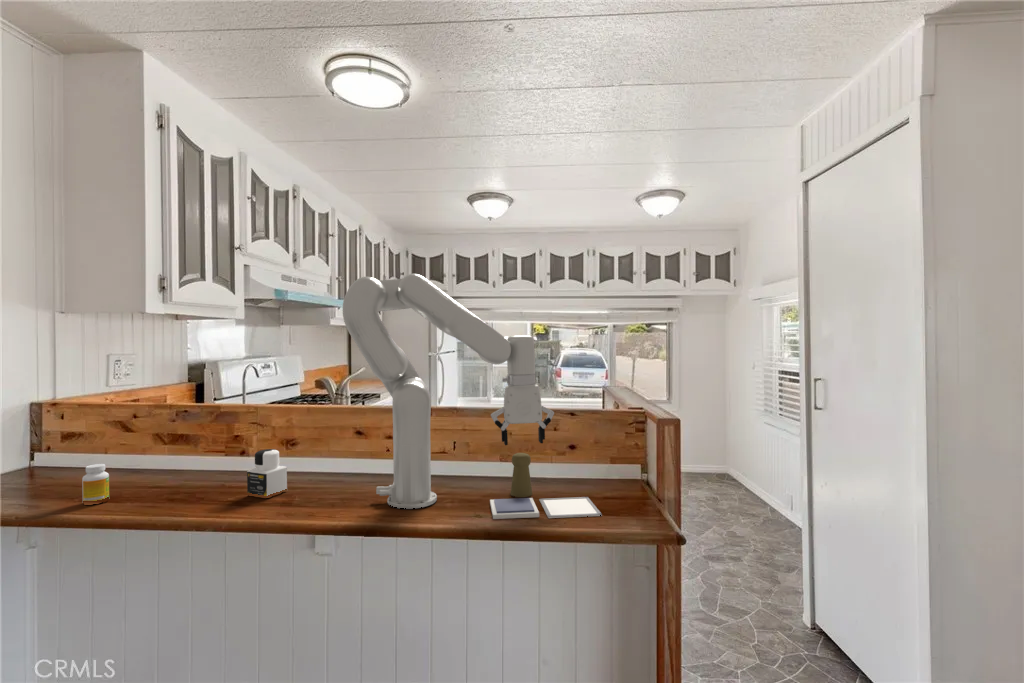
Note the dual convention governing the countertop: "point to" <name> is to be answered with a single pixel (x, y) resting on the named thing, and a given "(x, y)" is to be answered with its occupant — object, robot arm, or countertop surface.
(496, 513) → the ink pad
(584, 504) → the marked square
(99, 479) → the supplement bottle
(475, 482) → the countertop surface
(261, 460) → the medicine bottle
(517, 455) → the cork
